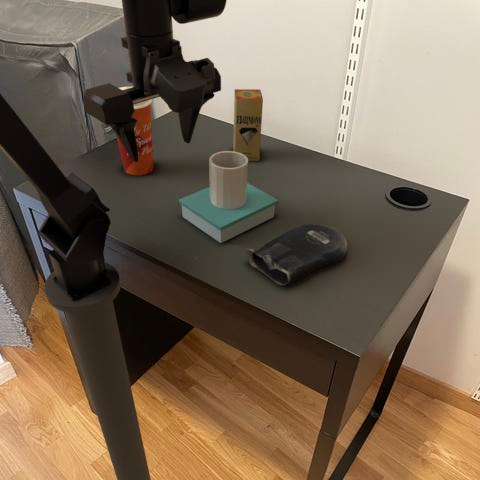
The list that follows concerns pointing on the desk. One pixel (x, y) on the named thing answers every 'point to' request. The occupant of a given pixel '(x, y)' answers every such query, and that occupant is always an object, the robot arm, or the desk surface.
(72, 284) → the robot arm
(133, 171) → the paper cup
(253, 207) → the teal flat box
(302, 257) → the black pouch
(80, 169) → the desk surface
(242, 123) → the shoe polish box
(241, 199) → the beige cup
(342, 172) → the desk surface
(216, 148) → the desk surface
